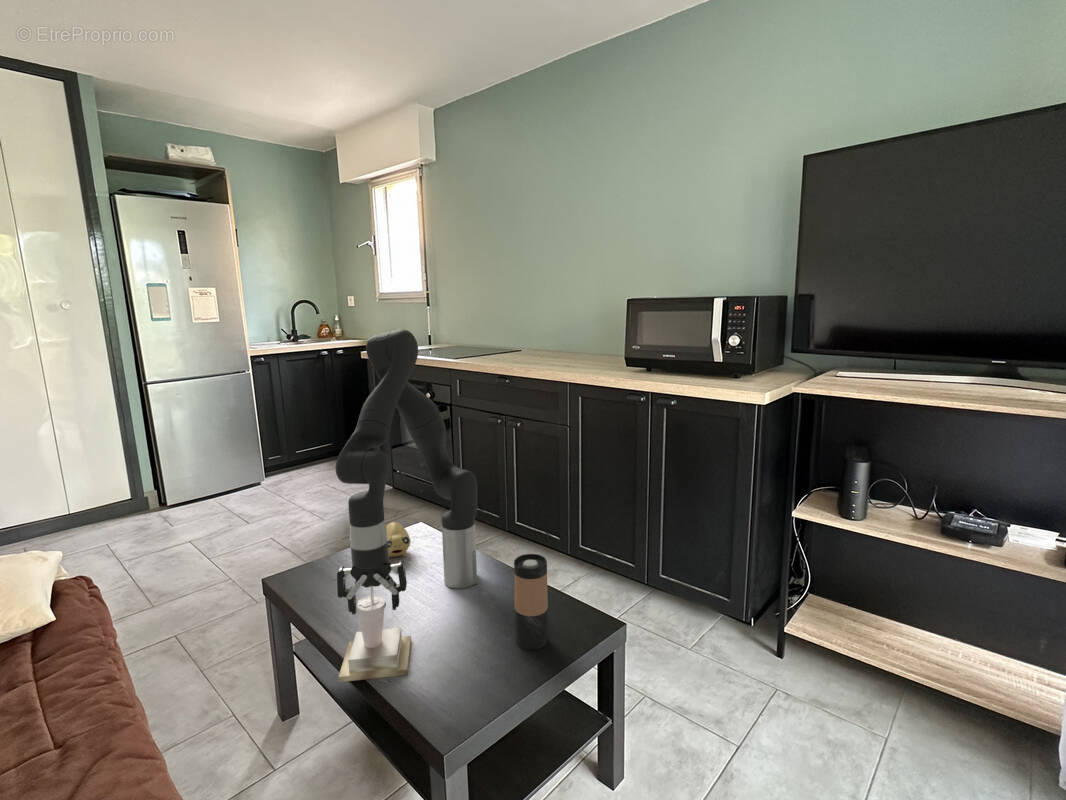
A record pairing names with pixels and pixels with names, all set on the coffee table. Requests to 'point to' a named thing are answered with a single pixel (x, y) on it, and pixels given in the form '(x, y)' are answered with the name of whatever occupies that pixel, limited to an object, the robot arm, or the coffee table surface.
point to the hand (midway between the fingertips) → (374, 610)
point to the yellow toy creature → (397, 539)
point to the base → (378, 672)
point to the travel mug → (531, 601)
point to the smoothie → (371, 618)
